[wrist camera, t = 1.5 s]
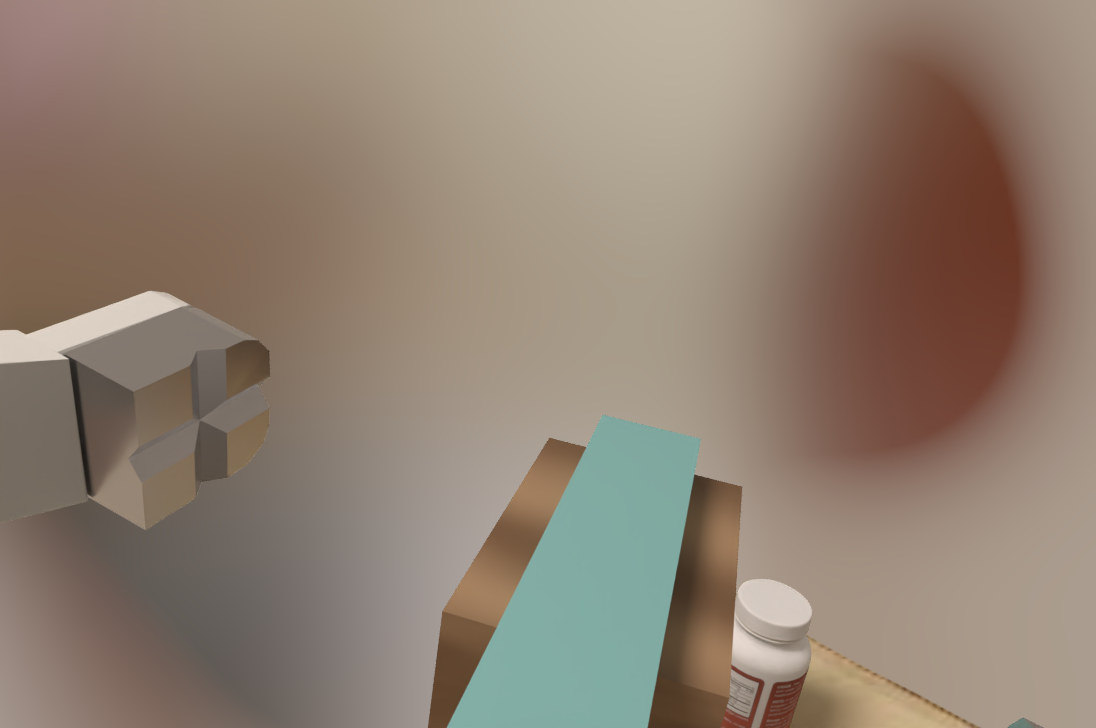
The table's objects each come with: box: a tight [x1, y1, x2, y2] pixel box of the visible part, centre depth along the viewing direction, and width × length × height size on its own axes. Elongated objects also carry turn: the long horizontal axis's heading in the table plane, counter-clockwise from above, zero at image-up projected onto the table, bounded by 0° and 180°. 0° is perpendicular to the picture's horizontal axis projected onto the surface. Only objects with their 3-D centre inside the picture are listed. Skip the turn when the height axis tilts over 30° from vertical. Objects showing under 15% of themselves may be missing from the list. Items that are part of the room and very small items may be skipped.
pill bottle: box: [721, 579, 812, 728], centre depth 52 cm, size 6×6×11 cm
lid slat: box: [447, 415, 701, 728], centre depth 23 cm, size 20×4×2 cm, turn 165°
